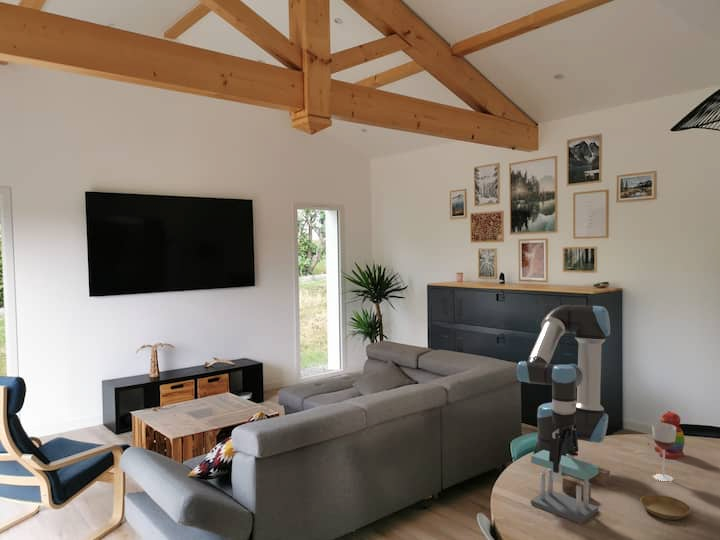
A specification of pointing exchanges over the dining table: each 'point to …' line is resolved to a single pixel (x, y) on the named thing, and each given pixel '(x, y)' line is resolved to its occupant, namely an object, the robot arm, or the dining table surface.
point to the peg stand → (564, 501)
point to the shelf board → (567, 465)
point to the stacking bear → (679, 441)
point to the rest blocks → (600, 479)
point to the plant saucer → (665, 506)
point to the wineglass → (664, 443)
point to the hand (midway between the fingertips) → (563, 477)
